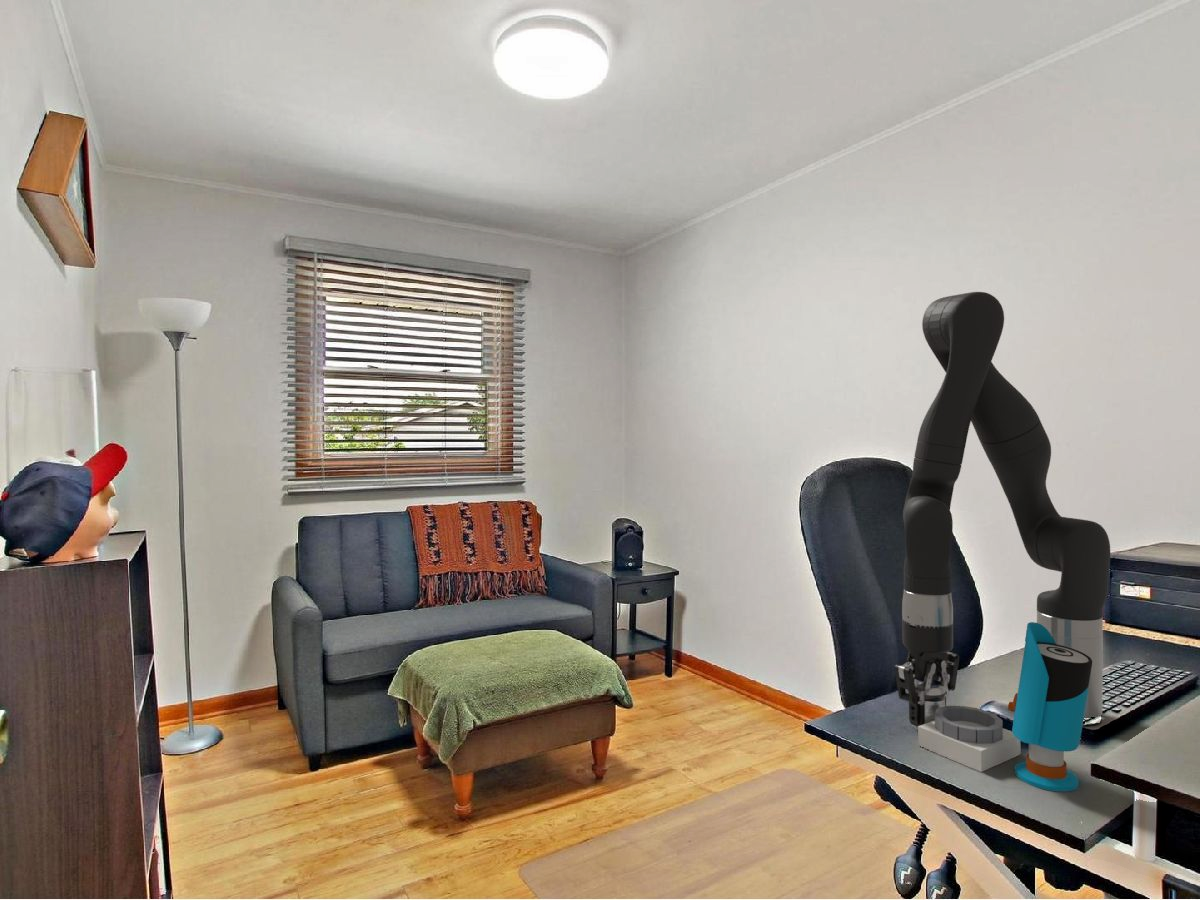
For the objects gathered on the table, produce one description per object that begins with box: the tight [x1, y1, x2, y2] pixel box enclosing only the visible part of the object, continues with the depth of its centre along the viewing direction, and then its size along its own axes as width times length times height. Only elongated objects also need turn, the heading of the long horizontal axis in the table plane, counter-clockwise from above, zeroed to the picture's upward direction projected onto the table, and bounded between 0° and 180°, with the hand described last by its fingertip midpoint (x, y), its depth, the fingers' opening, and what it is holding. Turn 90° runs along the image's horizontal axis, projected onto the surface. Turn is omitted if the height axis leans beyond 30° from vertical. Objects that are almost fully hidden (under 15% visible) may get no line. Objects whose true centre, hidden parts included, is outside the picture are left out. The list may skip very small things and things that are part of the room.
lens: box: [910, 679, 945, 730], centre depth 116 cm, size 5×5×7 cm
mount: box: [917, 705, 1021, 773], centre depth 108 cm, size 10×10×5 cm
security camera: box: [1007, 621, 1092, 792], centre depth 99 cm, size 8×21×10 cm
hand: (927, 721), depth 117 cm, fingers closed on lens, 5 cm apart
